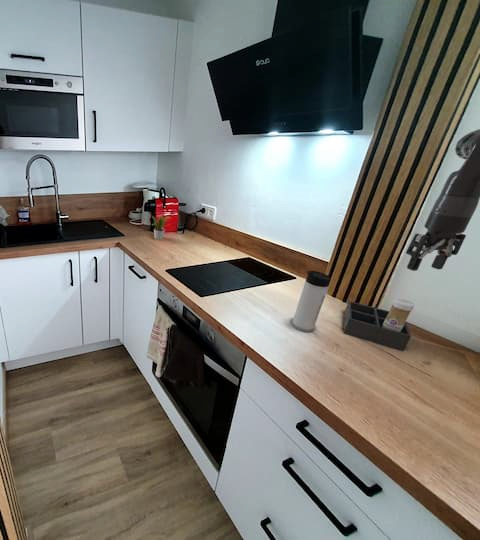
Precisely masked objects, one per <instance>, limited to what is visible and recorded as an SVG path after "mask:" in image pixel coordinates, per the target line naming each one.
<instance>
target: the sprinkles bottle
mask: <svg viewBox="0 0 480 540" xmlns="http://www.w3.org/2000/svg"><path fill="white" fill-rule="evenodd" d="M414 307H415V303H414V302H412V301H411V300H407V299H405V298H399V297H397V298H394V299H393V301H392V303H391V307H390V308H389V310H388V311H389V313H388V315H387V317H386V319H385V321H384V323H383V325H382V327H383V328H386V329H390V330H394V331H397V332H401V330H402V328H403V326H404V324H405V322H406V323H407V321H408V318H409V315H410V314H411V312H412V311H413V310H414Z"/></svg>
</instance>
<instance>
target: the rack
mask: <svg viewBox="0 0 480 540" xmlns="http://www.w3.org/2000/svg"><path fill="white" fill-rule="evenodd" d="M389 311H390V310H385V309H382V308H378V307H373V306H370V305H367V304H362V303H358V302H354V301H350V300H348V302H347V304H346V306H345V309H344V311H343V312H344V316H343V318H342V319H343V320H342V321H343V326H342V327H343V328H342V329H343V334H344V335H348V336H351V337H354V338H358V339H361V340H364V341H369V342H372V343H375V344H378V345H380V346H384V347H388V348H391V349H393V350H398V351H401V352H404V351H405V349H406V347H407V345H408V343H409V342H410V340H411V338H412V334H411V332H410V329H409V327H408V323H407V321H406V322H405V324H404V326H403V328H402V330H401V332H397V331H394V330H390V329H386V328H383V327H382V325H383V323H384V321H385V319H386V317H387V315H388V313H389Z"/></svg>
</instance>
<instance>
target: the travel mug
mask: <svg viewBox="0 0 480 540" xmlns="http://www.w3.org/2000/svg"><path fill="white" fill-rule="evenodd" d="M306 274H307V276H306V279H305V282H304V284H303V288H302V290H301V293H300V297H299V300H298V303H297V305H296V310H295V312H294V315H293V319H292V322H291V325H292V326H293V328H294V329H296V330H298V331H301V332H303V333H311V332H313V331H314V329H315V325H316V323H317V320H318V318H319V315H320V312H321V309H322V306H323V303H324V300H325V298H326V295H327V293H328V290H329V286H330V283H331V282H332V278H331V277H329V275H328V274H325V273H323V272H320V271H317V270H308V271H307V273H306Z"/></svg>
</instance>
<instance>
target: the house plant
mask: <svg viewBox="0 0 480 540" xmlns="http://www.w3.org/2000/svg"><path fill="white" fill-rule="evenodd" d="M158 216H159V218H158V219H157V218H155V216H153V215H151V217H152V219H153V223H151V226H154V229H153V234H154V240H156V241H162V240H163V239H164V237H165V233H166V230H165V228H166V227H167V226H169V225H170V224H167V223H166V222H168V221H169V218H170V217H169V216H170V215H168V216H166V217H165V218H163V214H158Z"/></svg>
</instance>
